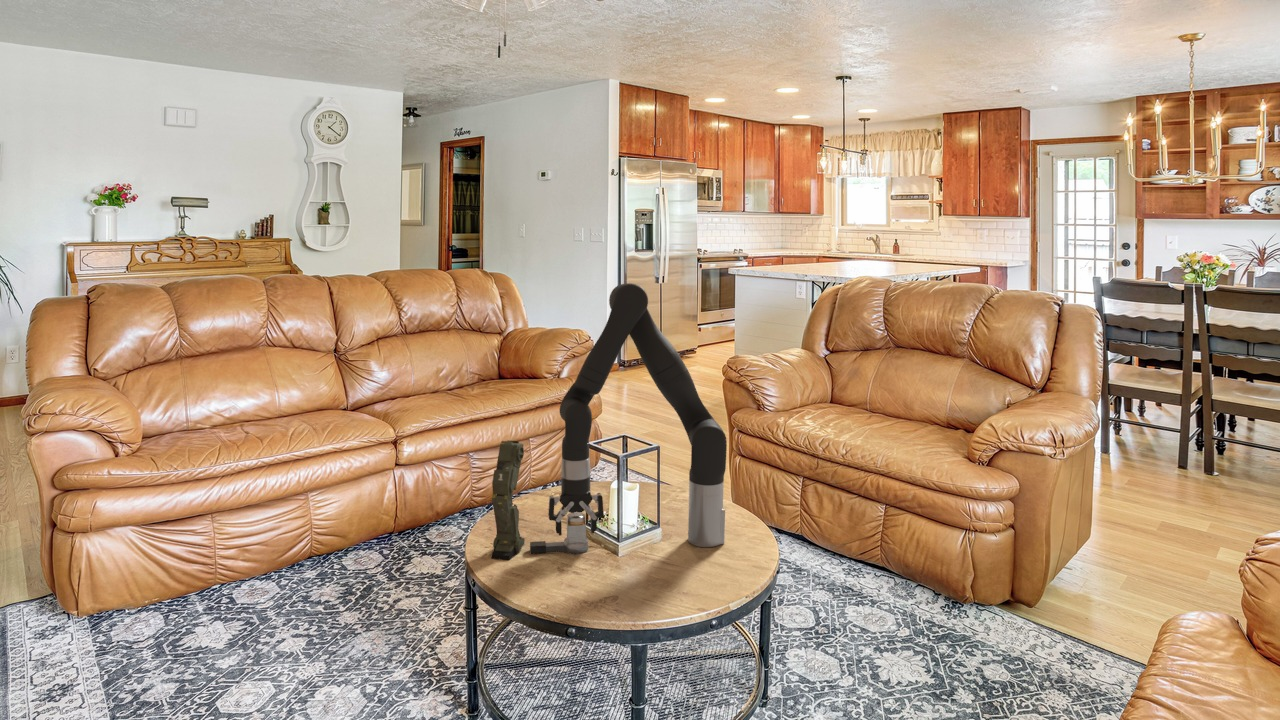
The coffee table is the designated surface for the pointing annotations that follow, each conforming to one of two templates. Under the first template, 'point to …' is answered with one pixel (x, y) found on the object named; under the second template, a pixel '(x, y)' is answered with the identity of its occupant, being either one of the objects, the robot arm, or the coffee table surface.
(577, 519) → the socket
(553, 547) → the ratchet
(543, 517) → the coffee table surface
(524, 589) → the coffee table surface
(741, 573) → the coffee table surface
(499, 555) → the mechanical leg
